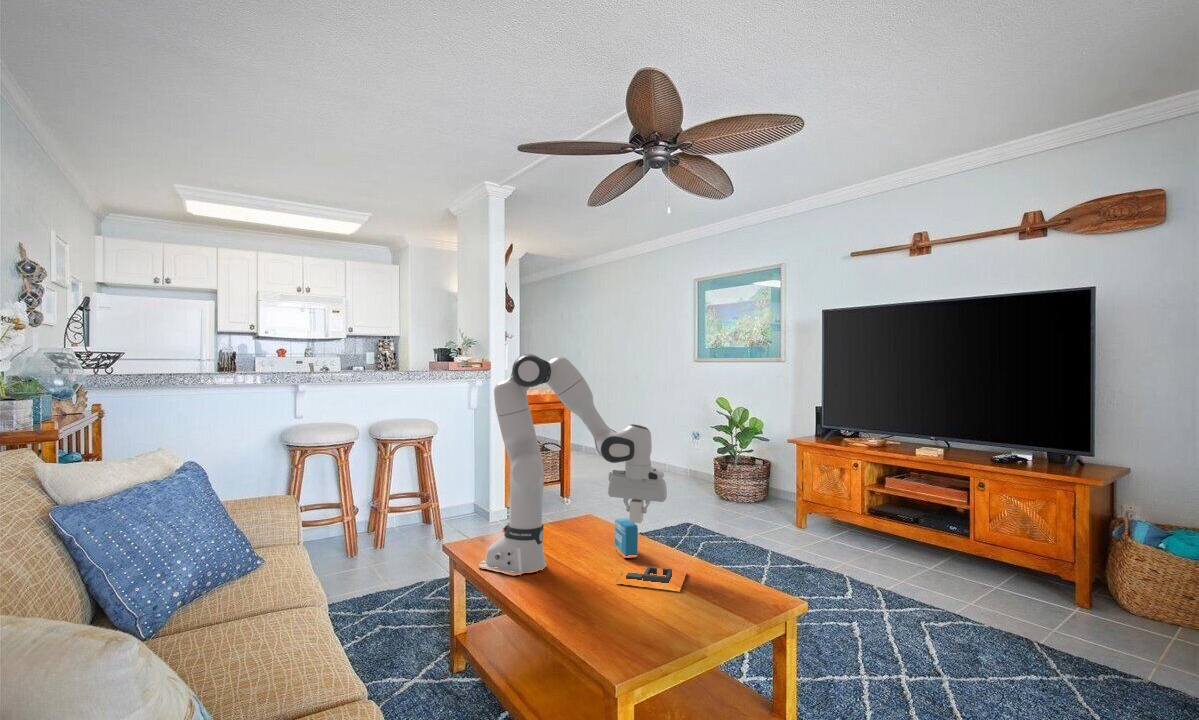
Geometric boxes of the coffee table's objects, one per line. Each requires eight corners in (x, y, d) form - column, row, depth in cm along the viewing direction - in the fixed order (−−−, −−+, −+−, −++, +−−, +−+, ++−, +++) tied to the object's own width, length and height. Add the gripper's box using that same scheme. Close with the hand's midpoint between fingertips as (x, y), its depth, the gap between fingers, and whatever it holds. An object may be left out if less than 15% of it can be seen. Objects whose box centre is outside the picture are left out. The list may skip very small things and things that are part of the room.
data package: (614, 549, 214) (614, 517, 214) (625, 548, 215) (626, 516, 216) (625, 560, 203) (626, 526, 203) (637, 559, 204) (638, 525, 204)
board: (616, 584, 180) (616, 574, 180) (628, 567, 195) (628, 558, 196) (680, 592, 175) (680, 581, 175) (687, 574, 190) (687, 564, 190)
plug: (629, 522, 198) (630, 500, 198) (632, 518, 202) (632, 497, 202) (640, 523, 196) (641, 501, 196) (643, 520, 201) (644, 498, 201)
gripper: (606, 470, 199) (605, 511, 199) (665, 475, 193) (663, 517, 193) (611, 467, 205) (609, 506, 205) (668, 472, 199) (667, 512, 199)
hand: (636, 512), depth 199 cm, fingers closed on plug, 4 cm apart
